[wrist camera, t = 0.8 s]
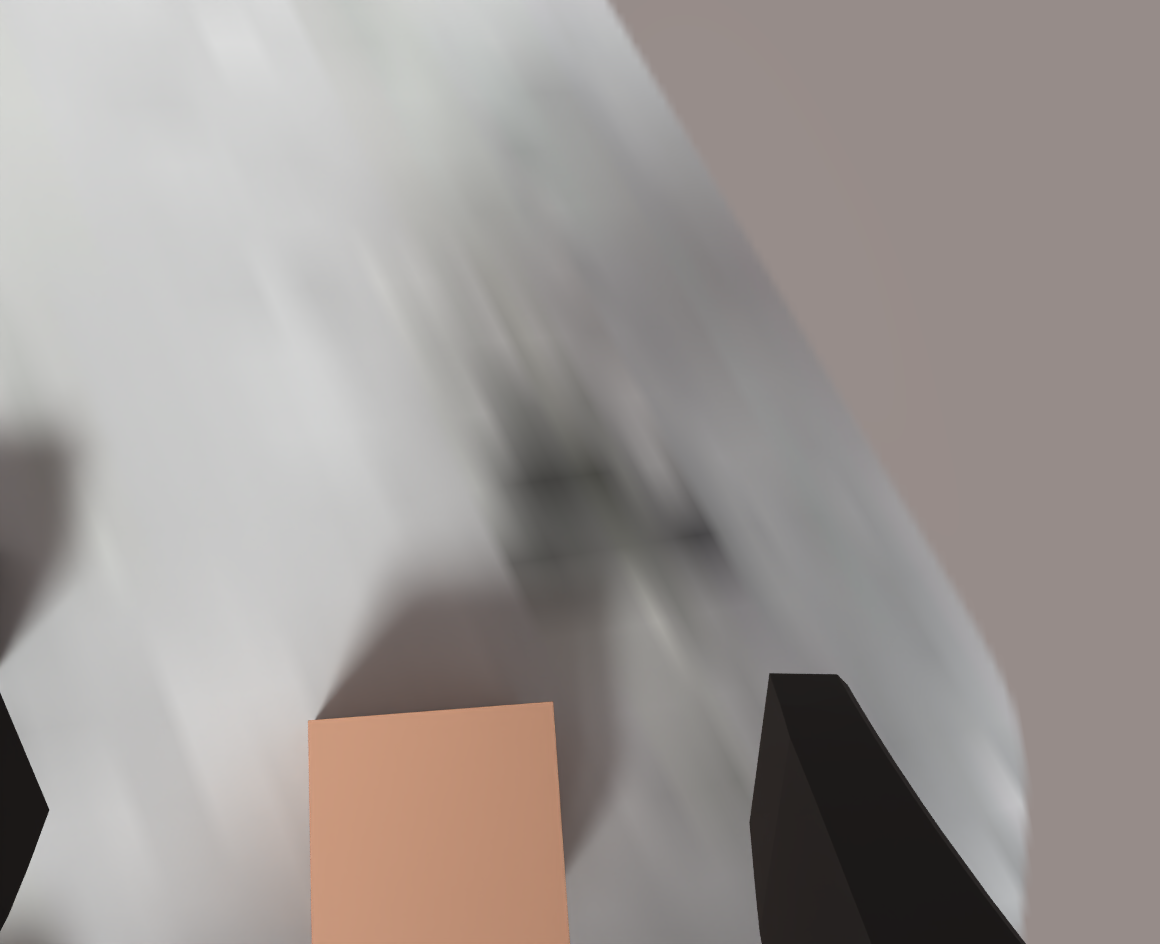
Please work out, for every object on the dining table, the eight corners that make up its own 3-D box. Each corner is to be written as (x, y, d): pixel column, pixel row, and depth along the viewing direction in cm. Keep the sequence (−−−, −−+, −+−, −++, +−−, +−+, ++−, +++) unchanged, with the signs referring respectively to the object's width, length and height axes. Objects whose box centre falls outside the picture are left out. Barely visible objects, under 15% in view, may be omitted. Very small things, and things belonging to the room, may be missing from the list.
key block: (535, 920, 24) (571, 956, 20) (318, 948, 23) (312, 992, 19) (521, 705, 25) (552, 701, 22) (314, 721, 24) (308, 720, 20)
